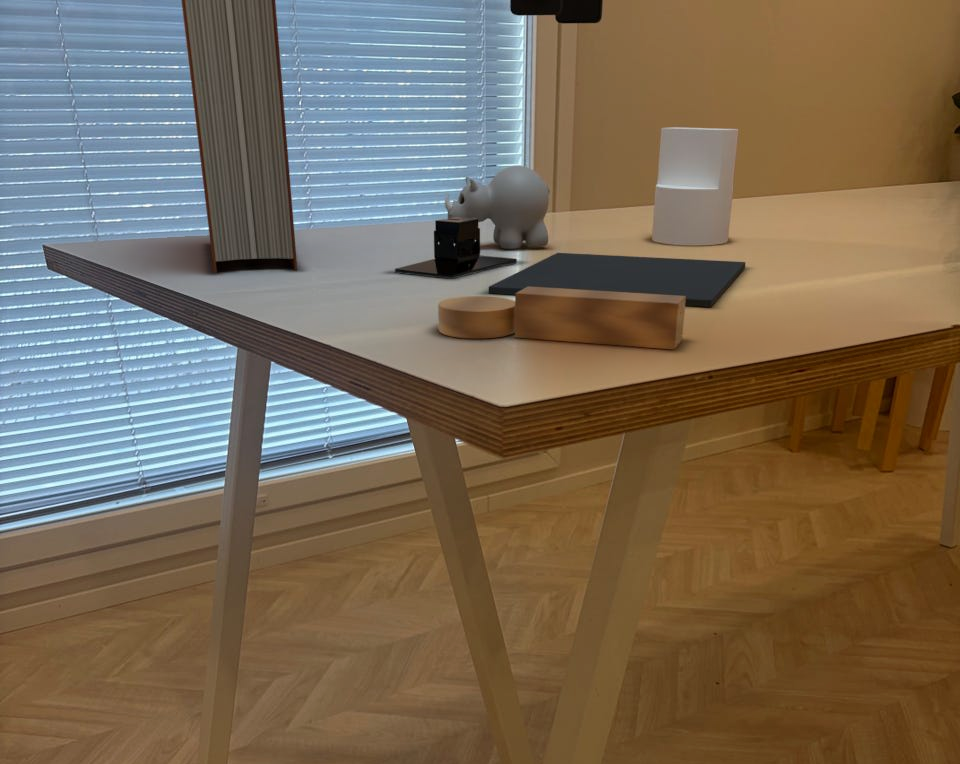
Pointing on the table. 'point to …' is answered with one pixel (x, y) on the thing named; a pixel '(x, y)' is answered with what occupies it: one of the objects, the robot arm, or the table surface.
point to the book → (241, 127)
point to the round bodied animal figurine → (507, 206)
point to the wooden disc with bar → (569, 317)
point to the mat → (628, 276)
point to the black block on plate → (456, 251)
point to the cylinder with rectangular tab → (694, 186)
